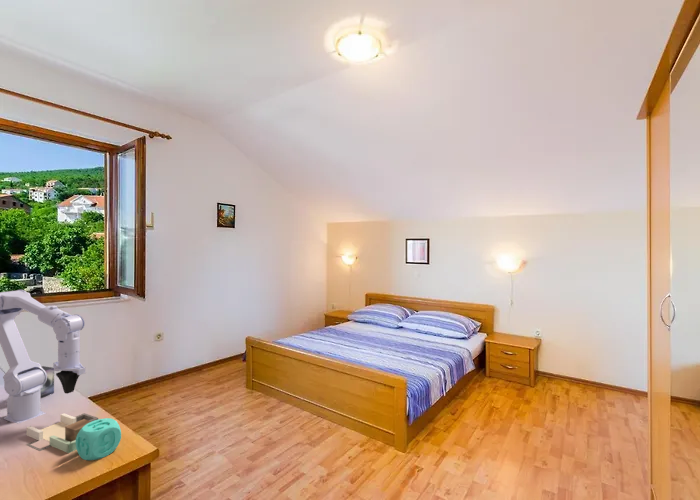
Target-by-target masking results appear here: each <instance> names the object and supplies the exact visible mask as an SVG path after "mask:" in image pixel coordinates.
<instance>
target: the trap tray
mask: <svg viewBox="0 0 700 500" xmlns="http://www.w3.org/2000/svg"><path fill="white" fill-rule="evenodd" d="M59 417H60V421H59V422H56V423H54V424H52V425H51V424H50V425H49V426H47V427H44V428H41V429H38V428H37V427H34V426H31V425H30V426H27V427H26V428H25V429H26V433H25V435H26V436H27V437H30V438H32V439H35V440H34V441H30V442H29V443H26V444H25V446H28V447H30V448H32V449H35V450H37V451H39V452H41V451H43V450H46V449H48V448H50V447H53V448H54V449H55V448H56V449H57V450H60V451H62V452H65V453H66V454H70V453H73V452H74V451H77V449H76V440H74V441H72V442H69V441H66V440H65V427H66V426H68V425H70V424H73V423H75V422H78V421H80V420H83V419H85V420H88V421H91V422H92V421H95V420H98V419H99V417H97V416H94V415H91V414H88V413H82V414H79V415H76V416H73V415H70V414H67V413H65V412H64V413H60V414H59ZM42 440H45V441H46V442H49V444H48V445H47V446H45V447H42V448H38V447H36V446H34V445H32V444H35V443H37V442H39V441H42Z"/></svg>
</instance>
